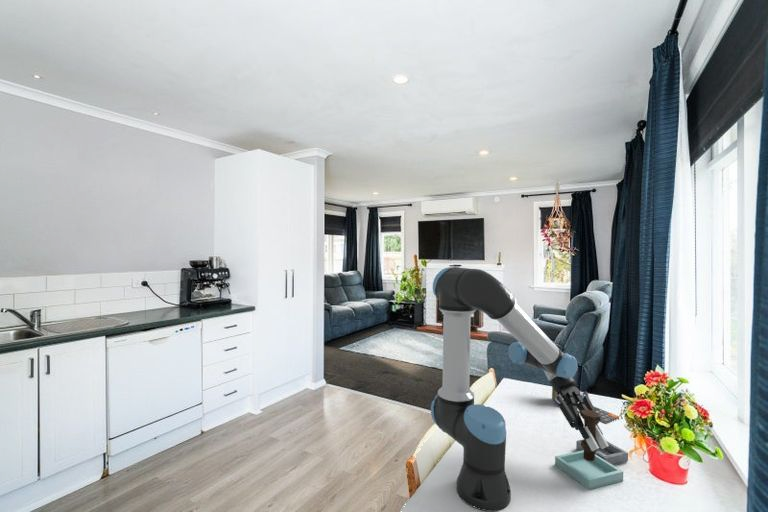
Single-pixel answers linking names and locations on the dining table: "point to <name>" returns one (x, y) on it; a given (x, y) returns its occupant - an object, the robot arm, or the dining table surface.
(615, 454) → the square frame
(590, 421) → the bolt
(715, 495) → the dining table surface
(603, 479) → the tray
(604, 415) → the calculator
